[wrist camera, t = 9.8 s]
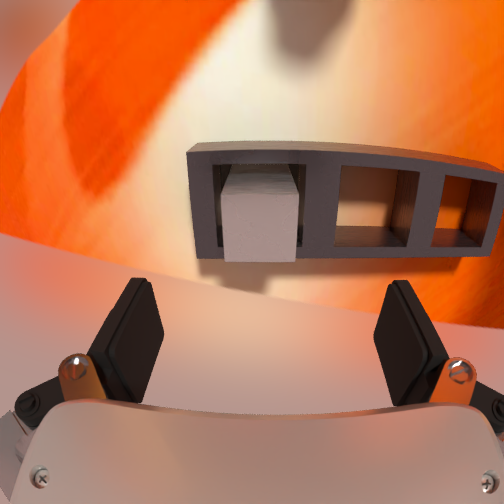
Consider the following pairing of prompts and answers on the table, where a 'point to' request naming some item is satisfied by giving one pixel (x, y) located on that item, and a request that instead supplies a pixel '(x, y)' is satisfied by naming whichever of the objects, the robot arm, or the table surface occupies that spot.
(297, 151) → the dark grey compartment tray
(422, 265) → the table surface
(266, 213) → the light grey block
